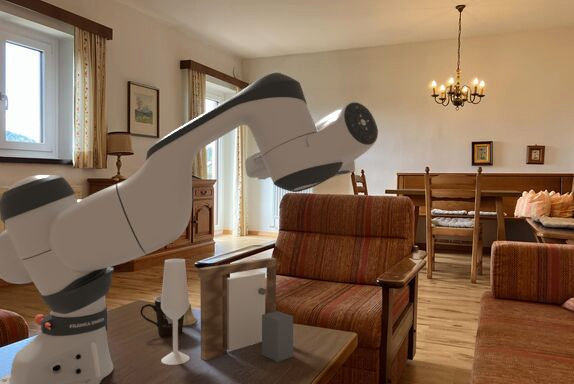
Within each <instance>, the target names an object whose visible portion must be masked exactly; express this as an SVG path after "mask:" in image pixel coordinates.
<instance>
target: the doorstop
mask: <svg viewBox="0 0 574 384" xmlns="http://www.w3.org/2000/svg"><path fill="white" fill-rule="evenodd" d="M261 355H262V356H263V357H266V358H268V359H270V360H272V361H274V362H277V363H278V362H282V361H285V360H287V359H290V358H293V357H294V316H293V315H290V314H287V313H285V312H281V311H278V310H276V311H275V312H271V313H267V312H266V313H265V314H263V315H262V341H261Z"/></svg>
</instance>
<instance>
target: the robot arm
mask: <svg viewBox="0 0 574 384" xmlns="http://www.w3.org/2000/svg"><path fill="white" fill-rule="evenodd" d="M306 100H307V99H306V98H305V95H304V91H303V88H302V86H301V83H300V81H298V80H296V79H294V78H293V77H291V76H289V75H286V74H284V73H281V72H272V73H269V74H266V75H264V76H262V77H260V78H258V79H257V80H255V81H253V82H252V83H251V84H249V85H248V86H247V87H245V88H243V89H241V91H239V92H238V93H236V94H235V95H233V96H232V97H230V98H228V99H226V100H224V101H223V102H221V103H219V104H217V105H216V106H214V107H213V108H211V109H209V110H207V111H205V112H203V113H202V114H200V115H198V116H197V117H195V118H193V119H191V120H190V121H187V122H186V123H185V124H183V125H181V126H180V127H178V128H177V129H174V130H173V131H171V132H170V133H168V134H167V135H165V136H163V137H162V138H161V139H159V140H158V141H157V142H155V143H154V144H153V145H151V147H150V148H149V149H148V150H147V151H146V158H145V162H144V164H142V166H141V167H140V168H139V169H138V170H137V171H136V172H135V173H134V174H133V175H131V176H130V177H128V178H127V179H125V180H122V181H120V182H118V183H115V184H113V185H110V186H108V187H106V188H103V189H101V190H99V191H96V192H94V193H92V194H90V195H88V196H86V197H85V198H81V199H78V198H76V196H75V189H73V187H72V186H71V184H70V183H69V182H68V181H67V180H66V178H65V177H63V176H61V175H58V174H51V175H48V174H36V175H30V176H26V177H25V178H22V179H21V180H19V181H17V182H15V183H13V184H12V185H11V186H10V187H9V188H8V189H7V190H6V191H4V192H2V194H1V196H0V221H2V222H3V224H4V225H5V228H6V229H4V230H3V231H2V232H1V233H0V279H2V280H3V281H4V282H6V283H10V284H17V285H23V284H30V283H33V284H34V286H35V288H36V289H37V290H38V291H39V293H40V294H41V295H40V299H41V300H42V302H43V303H44V304H45V305H46V307H48V309H49V310H50V312H49V313H47V315H46V316H44V314H42V313H38V314H36V315H35V316H34V322H35V323H36V324H37V325H38V326H40V330H41V331H40V333H39V334H37V335H36V336H35V337H34V338H33V339H31V340H30V341H29V342H28V343H27V344H26V345H24V346H23V347H22V348H21V349H20V350H18V351H17V352H16V353H15V355H14V357H13V360H12V363H11V368H10V373H9V374H7V375H3V376H2V377H1V378H0V384H100V383H101V381H102V380H103V379H104V378H106V377H107V376H109V375H110V374H111V373H112V372H113V370H114V369H115V368H114V363H113V362H112V358H111V355H110V348H109V345H108V344H109V343H108V336H107V331H108V325H109V314H108V308H107V306H106V295H107V294H108V293H109V291H110V288H111V285H112V283H113V276H112V275H113V273H114V272H115V268H114V266H117V265H121V264H125V263H127V262H130V261H133V260H136V259H138V258H141V257H144V256H147V255H148V254H151V253H153V252H156V251H157V250H159V249H161V248H164V247H166V246H168V245H169V244H171V243H173V242H174V241H176V240H178V239H179V238H180V237H181V236H182V235H183V234H184V233H185V230H186V228H187V227H188V225H189V223H190V220H191V216H192V215H191V214H192V211H193V210H192V209H193V167H194V162H195V159H196V157H197V155H198V154H199V152H200V151H201V150H202V149H203V148H205V147H207V146H208V145H210V144H212V143H214V142H215V141H217V140H218V139H220V138H222V137H224V136H225V135H227V134H229V133H231V132H232V131H234V130H235V129H237V128H239V127H240V126H247V127H248V128H249V130H250V132H251V133H252V136H253V138H254V141H255V143H256V146H257V147H258V151H257V152H254V153H253V154H250V155H249V156H248V157H246V159H245V162H244V164H245V165H244V166H245V172H246V173H245V174H246V175H247V177H249V178H250V179H251V178H252V179H255V178H257V179H258V180H267V179H268V178H270V179H271V182H273V185H275V186H276V188H277V187H278V188H279V189H282V190H286V191H289V192H293V193H298V192H302V191H305V190H309V189H311V188H314V187H316V186H318V185H321V184H322V183H324V182H326V181H327V180H329V179H331V178H334V177H340V176H342V175H346V174H347V175H348V174H351V173H353V172H355V171H356V164H355V162H356V161H355V160H357V159H359V158H360V157H361V156H362V155H364V154H365V153H366V152H368V151H369V150H370V149H371V148H372V147H373V146H374V145H375V143H376V142H377V139H378V135H379V130H378V125H377V122H376V120H375V118H374V116H373V114H372V112H371V111H370V110H369V109H368V108H367V107H366V106H365V105H363V104H362V103H360V102H357V101H351V102H348V103H345V104H343V105H340V106H338V107H337V108H333V110H331V111H329V112H328V113H326V114H325V115H323V116H322V117H320V118H319V119H318V120H317V121H316V122H315V121H314V119H313V117H312V114H311V113H310V110H309V108H308V105H307V101H306Z"/></svg>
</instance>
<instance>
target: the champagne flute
mask: <svg viewBox="0 0 574 384" xmlns="http://www.w3.org/2000/svg"><path fill="white" fill-rule="evenodd" d="M186 274H187V268H186V259H184V258H169V259H165V260H164V265H163V278H162V288H161V289H162V290H161V296H162V298H161V309H162V311H163V312H164V314H165V315H167V316H168V317H169V318H170V319H172V320H173V337H172V351H171V352H170V353H168V354H167V355H165V356H164V357H162V358H161V360H160V361H161V363H162V364H164V365H170V366H174V365H175V366H176V365H181V364H184V363H186V362H188V361H189V360H190V356H189V355H187V354H185V353H183V352H181V351H179V335H178V319H179V318H181V317H182V316H183V315H184V314H185V313H186V311H187V310H188V308H189V303H190V298H189V297H190V296H189V287H188V284H187V277H188V275H187V276H186Z"/></svg>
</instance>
